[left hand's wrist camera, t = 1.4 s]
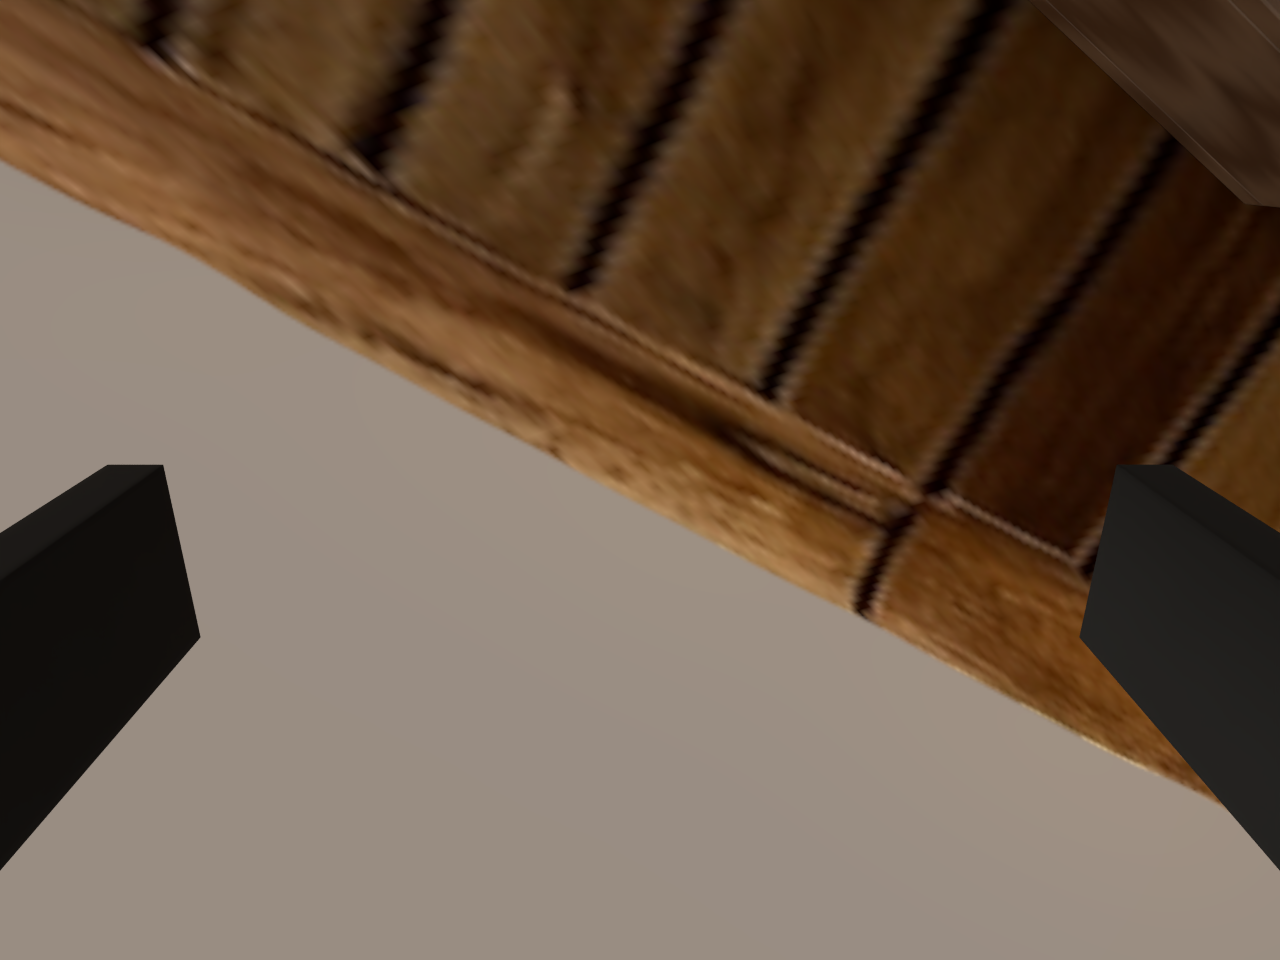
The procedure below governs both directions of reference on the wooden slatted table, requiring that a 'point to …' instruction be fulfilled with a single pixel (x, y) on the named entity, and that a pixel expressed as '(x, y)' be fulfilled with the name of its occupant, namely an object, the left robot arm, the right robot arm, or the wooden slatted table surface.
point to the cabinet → (1194, 76)
